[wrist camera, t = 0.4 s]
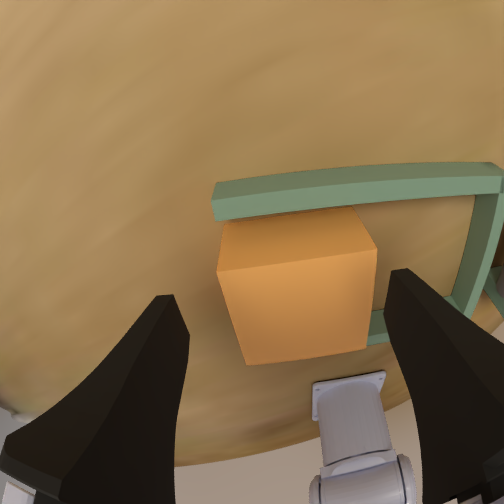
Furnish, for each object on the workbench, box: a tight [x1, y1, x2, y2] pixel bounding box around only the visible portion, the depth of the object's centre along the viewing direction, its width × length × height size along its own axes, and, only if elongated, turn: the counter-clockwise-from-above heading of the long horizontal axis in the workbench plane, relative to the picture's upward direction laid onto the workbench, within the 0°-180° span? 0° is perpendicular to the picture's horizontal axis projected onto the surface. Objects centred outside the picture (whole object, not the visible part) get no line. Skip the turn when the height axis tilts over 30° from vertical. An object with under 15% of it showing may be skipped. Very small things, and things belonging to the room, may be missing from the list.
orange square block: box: [216, 206, 378, 366], centre depth 19 cm, size 8×8×5 cm
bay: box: [211, 162, 504, 346], centre depth 17 cm, size 14×24×6 cm, turn 99°
